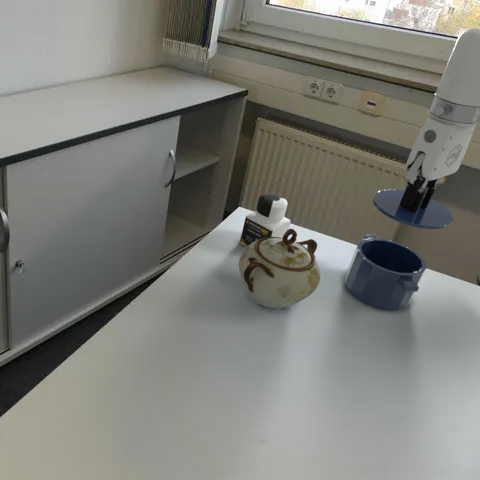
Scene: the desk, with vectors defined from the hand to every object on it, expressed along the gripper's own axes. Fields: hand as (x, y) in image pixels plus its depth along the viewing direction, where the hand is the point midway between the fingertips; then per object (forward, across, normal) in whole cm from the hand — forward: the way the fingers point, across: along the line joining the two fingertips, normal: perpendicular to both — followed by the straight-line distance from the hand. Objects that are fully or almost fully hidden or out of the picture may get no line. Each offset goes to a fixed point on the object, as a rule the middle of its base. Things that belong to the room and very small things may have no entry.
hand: (413, 206), depth 99 cm
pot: (+20, 0, 0) cm, 20 cm away
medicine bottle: (+20, -9, +23) cm, 32 cm away
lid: (+1, 0, 0) cm, 1 cm away
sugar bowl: (+20, -21, +9) cm, 30 cm away
